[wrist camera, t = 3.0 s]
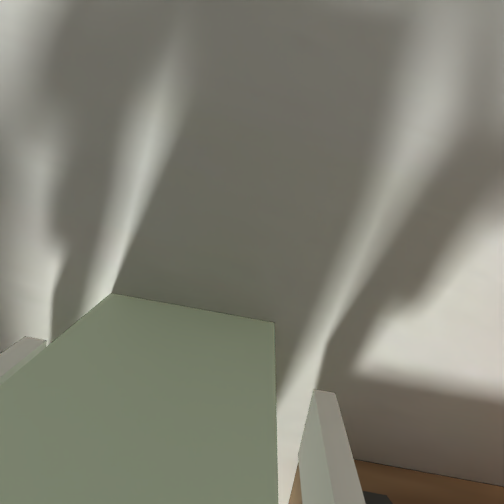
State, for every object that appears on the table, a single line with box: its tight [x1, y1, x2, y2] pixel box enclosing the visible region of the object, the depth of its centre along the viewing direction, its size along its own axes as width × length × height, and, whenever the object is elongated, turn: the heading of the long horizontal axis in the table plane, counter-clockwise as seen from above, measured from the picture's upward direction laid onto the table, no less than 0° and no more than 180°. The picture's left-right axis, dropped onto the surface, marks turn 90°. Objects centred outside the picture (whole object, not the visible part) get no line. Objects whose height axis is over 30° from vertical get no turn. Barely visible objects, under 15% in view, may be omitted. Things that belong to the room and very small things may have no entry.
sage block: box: [0, 293, 278, 504], centre depth 10 cm, size 6×6×10 cm
